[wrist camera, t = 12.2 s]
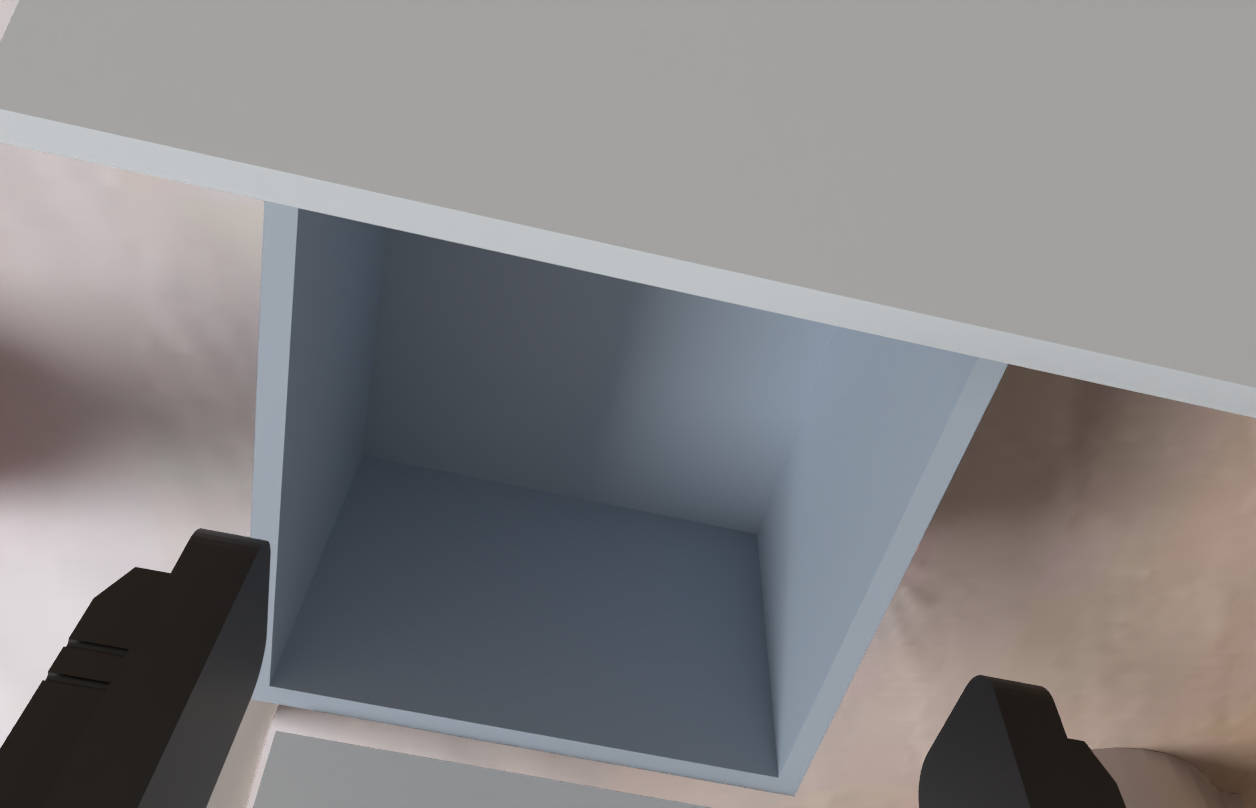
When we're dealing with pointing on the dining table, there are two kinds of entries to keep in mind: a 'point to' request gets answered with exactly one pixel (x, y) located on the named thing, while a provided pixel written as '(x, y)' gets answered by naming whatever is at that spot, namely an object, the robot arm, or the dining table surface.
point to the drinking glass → (243, 757)
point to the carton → (580, 501)
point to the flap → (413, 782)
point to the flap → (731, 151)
